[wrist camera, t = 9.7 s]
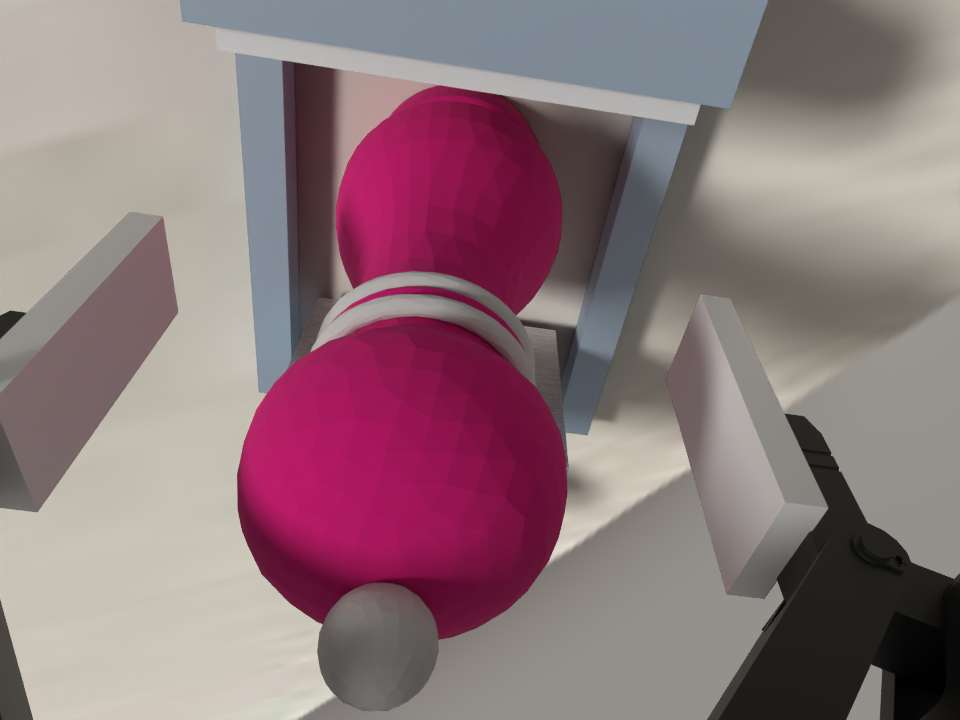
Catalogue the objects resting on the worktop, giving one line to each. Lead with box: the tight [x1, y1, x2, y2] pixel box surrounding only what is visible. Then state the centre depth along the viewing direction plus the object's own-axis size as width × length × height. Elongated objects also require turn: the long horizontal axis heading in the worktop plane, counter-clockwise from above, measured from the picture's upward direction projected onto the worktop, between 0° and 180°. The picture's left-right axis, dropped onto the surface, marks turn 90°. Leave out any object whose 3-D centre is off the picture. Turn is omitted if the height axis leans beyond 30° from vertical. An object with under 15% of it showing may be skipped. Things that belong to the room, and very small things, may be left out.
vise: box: [180, 0, 768, 435], centre depth 22 cm, size 20×15×9 cm
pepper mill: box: [237, 85, 567, 711], centre depth 17 cm, size 7×7×20 cm
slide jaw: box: [286, 297, 569, 471], centre depth 28 cm, size 9×10×9 cm
